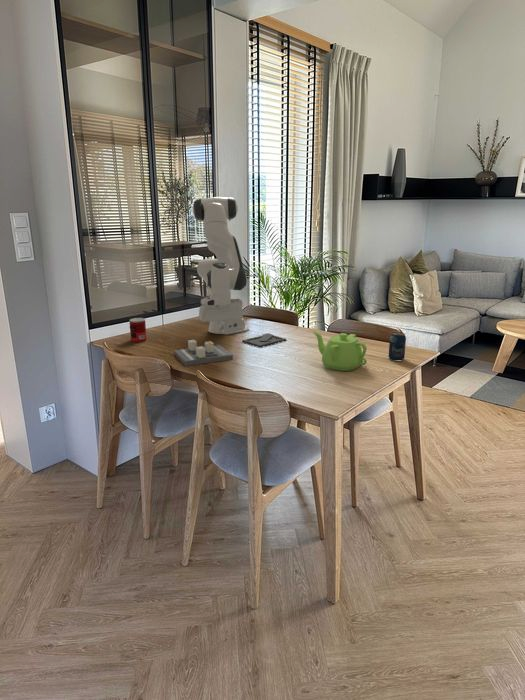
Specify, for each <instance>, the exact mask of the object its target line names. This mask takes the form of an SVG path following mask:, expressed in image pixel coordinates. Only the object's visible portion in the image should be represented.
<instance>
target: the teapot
mask: <svg viewBox="0 0 525 700" xmlns="http://www.w3.org/2000/svg"><path fill="white" fill-rule="evenodd" d="M312 334H314V335H315V337H316V339H317V347H318V351H319V353H320V354H321V356H322V357H321V362H322V364H323V366H324V367H325V368H327V369H331V370H335V371H339V372H340V371H341V372H350V371H353V370H356V369H358V368H359V367H360V366H365V365H366V364H367V362H368V361H367V358H364V357H365V355H366V352H367V345H366V344H365V343H364V342H362V341H359V339H358V338H357V335H356V334H354V333H350V334H348V333H344V332H341V333H339V334H338V335H334V336H332V337H330V338H329V339H328V341H327V343H326V344H325V343H324V340H323V337H322V335H321V334H320V333H319V332H315V331H312Z"/></svg>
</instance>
